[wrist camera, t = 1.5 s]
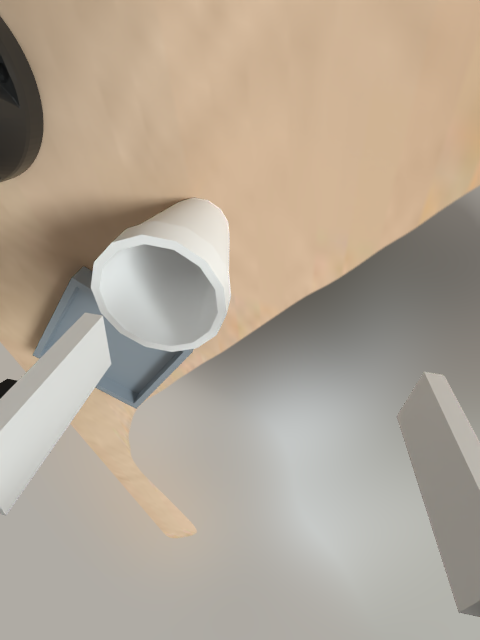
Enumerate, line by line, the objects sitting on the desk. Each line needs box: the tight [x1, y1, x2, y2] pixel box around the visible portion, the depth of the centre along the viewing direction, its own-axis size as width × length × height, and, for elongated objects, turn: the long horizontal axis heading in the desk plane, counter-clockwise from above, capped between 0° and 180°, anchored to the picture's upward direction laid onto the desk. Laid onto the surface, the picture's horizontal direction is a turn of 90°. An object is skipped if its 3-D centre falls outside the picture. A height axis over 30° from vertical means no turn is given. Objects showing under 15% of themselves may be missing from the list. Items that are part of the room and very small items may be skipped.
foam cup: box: [91, 198, 231, 352], centre depth 27 cm, size 10×9×13 cm
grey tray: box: [33, 266, 193, 409], centre depth 42 cm, size 16×16×3 cm
